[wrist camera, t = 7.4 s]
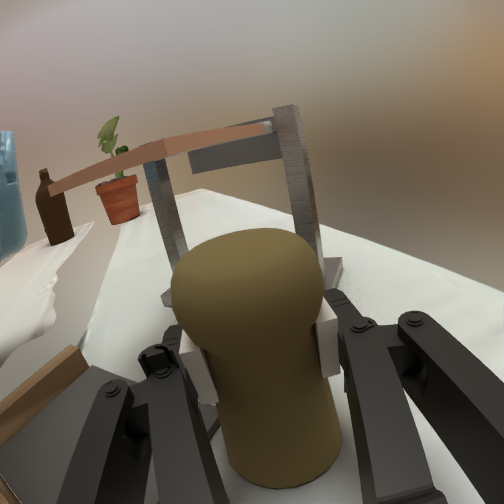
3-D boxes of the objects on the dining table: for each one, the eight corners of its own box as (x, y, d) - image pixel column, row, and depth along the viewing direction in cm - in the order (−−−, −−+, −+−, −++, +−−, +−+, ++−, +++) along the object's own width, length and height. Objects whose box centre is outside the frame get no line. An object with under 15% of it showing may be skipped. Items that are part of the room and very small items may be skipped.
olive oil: (82, 232, 92) (62, 162, 83) (61, 244, 82) (39, 168, 74) (63, 237, 95) (45, 170, 86) (43, 248, 85) (23, 177, 77)
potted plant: (156, 209, 98) (133, 108, 86) (129, 223, 85) (101, 109, 73) (123, 215, 103) (101, 123, 92) (95, 229, 90) (70, 127, 78)
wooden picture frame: (-23, 462, 11) (-44, 441, 10) (82, 367, 23) (70, 344, 22) (85, 598, 4) (50, 587, 3) (224, 417, 16) (212, 389, 15)
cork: (212, 481, 12) (108, 289, 8) (242, 398, 17) (189, 224, 13) (338, 489, 10) (333, 273, 6) (343, 397, 16) (329, 205, 12)
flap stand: (206, 268, 39) (174, 140, 33) (342, 267, 31) (319, 107, 26) (163, 305, 31) (118, 151, 26) (326, 316, 24) (293, 100, 18)
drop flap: (202, 170, 34) (194, 136, 32) (301, 153, 29) (293, 113, 27) (60, 233, 18) (43, 178, 17) (188, 214, 13) (165, 123, 11)
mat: (-5, 462, 11) (-10, 457, 11) (95, 370, 22) (92, 364, 22) (102, 580, 6) (95, 577, 5) (225, 414, 16) (223, 408, 16)
